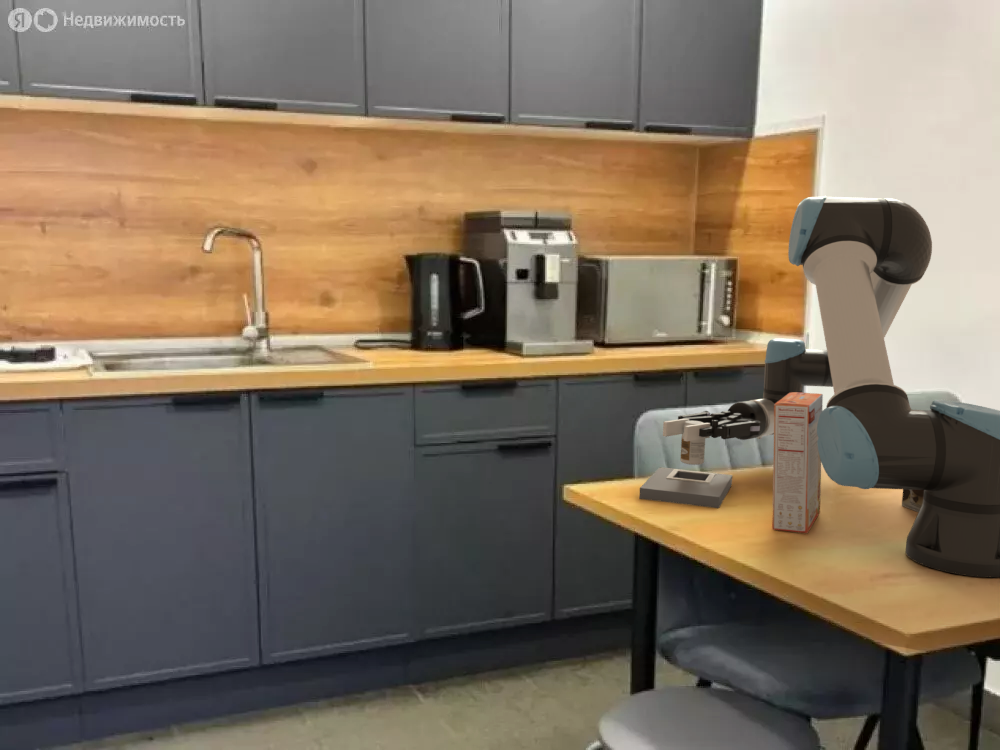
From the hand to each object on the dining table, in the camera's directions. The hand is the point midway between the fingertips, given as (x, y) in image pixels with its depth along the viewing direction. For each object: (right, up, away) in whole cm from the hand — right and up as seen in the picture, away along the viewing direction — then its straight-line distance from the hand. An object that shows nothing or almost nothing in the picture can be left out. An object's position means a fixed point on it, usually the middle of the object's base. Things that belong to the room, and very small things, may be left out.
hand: (675, 431), depth 174 cm
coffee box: (+44, -14, -8) cm, 47 cm away
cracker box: (+17, -14, -17) cm, 28 cm away
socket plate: (+2, -11, +1) cm, 12 cm away
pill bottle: (+4, -6, +4) cm, 9 cm away
